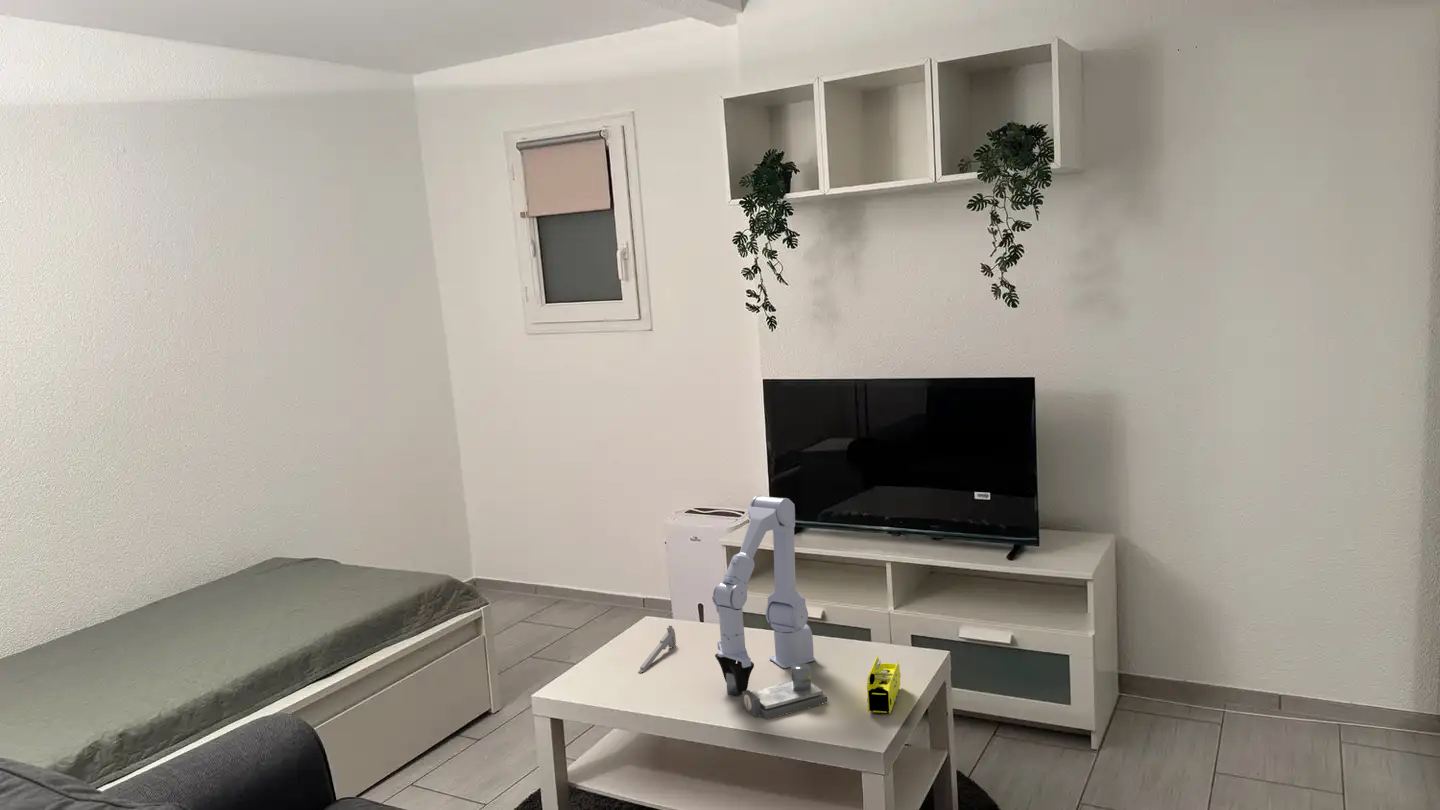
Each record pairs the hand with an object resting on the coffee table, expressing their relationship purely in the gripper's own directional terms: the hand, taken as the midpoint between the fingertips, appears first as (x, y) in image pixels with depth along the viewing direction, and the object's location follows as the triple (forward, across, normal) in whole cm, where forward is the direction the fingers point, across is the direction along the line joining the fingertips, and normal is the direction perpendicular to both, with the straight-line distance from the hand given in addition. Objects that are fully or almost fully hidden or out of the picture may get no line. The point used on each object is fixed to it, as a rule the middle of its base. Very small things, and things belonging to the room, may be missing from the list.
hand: (736, 686), depth 251 cm
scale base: (+1, +12, +7) cm, 14 cm away
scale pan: (0, +12, +7) cm, 14 cm away
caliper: (+2, -32, -8) cm, 33 cm away
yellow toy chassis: (+2, +24, +26) cm, 36 cm away
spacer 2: (-1, +12, +11) cm, 17 cm away
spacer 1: (+2, 0, 0) cm, 2 cm away
